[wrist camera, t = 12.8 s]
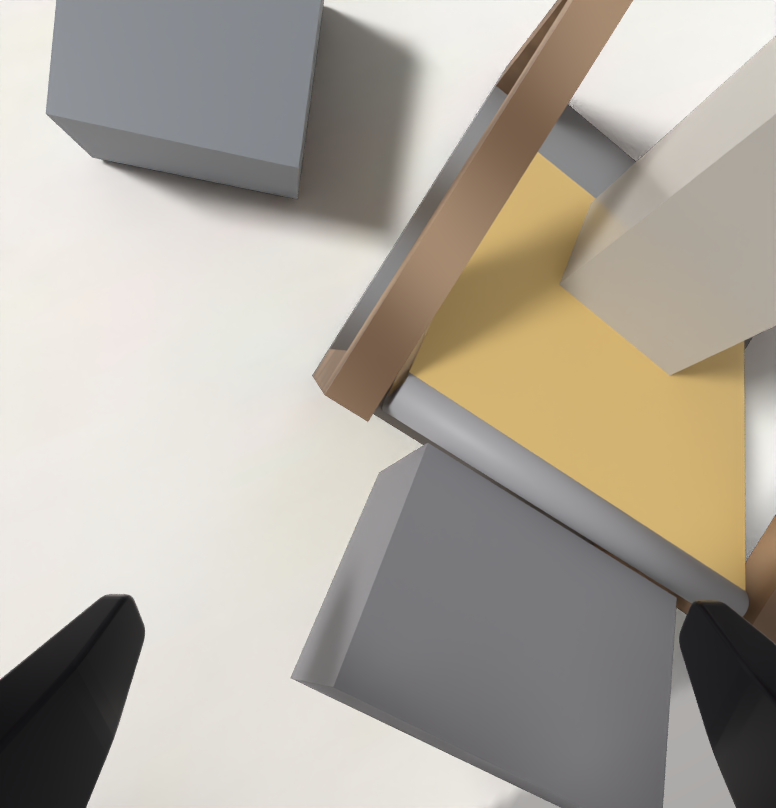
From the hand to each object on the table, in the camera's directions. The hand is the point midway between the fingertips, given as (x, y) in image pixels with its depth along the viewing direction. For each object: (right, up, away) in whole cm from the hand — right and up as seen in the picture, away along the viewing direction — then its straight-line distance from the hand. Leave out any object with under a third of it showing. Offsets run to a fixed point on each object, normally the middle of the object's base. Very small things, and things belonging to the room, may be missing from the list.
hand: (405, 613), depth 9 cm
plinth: (-6, +15, +10) cm, 19 cm away
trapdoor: (+4, +1, +10) cm, 11 cm away
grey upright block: (+8, +8, +10) cm, 15 cm away
